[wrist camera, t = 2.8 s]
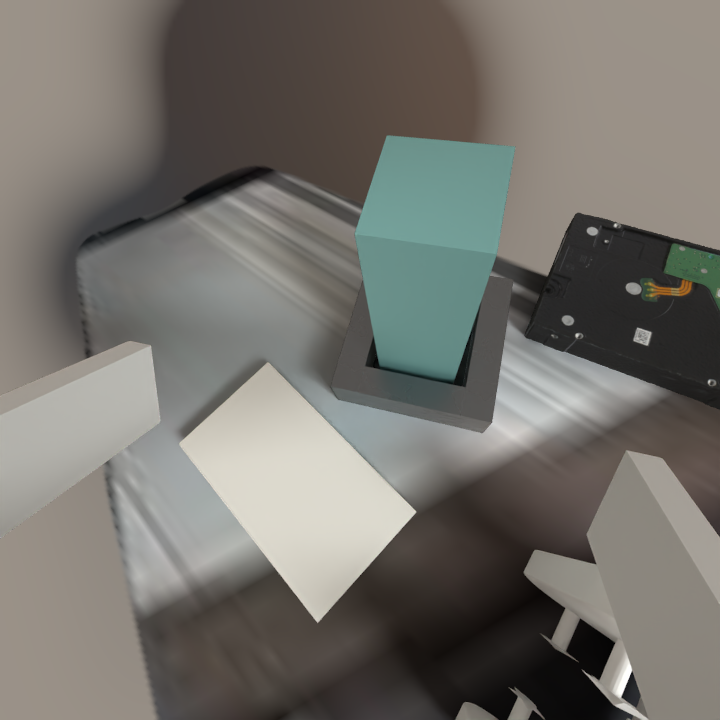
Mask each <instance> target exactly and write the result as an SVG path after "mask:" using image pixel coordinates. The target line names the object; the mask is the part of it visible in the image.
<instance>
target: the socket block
mask: <svg viewBox="0 0 720 720" xmlns="http://www.w3.org/2000/svg"><path fill="white" fill-rule="evenodd" d="M512 286H513V279H506V278H500V277H493V276H489V279H488V282H487V285H486V288H485V291H484V294H483V297H482V300H481V303H480V306H479V309H478V312H477V315H476V318H475V321H474V326H473V332H472V337H471V343H470V348H469V354H468V359H467V365H466V370H465V375H464V381H463V386H462V387H461V386H456V385H451V384H447V383H442V382H437V381H433V380H428V379H423V378H418V377H414V376H409V375H404V374H399V373H395V372H390V371H385V370H380V369H376V368H373V365H374V361H375V358H376V354H377V350H376V345H375V340H374V334H373V329H372V324H371V319H370V313H369V308H368V303H367V297H366V292H365V287H364V281H362V285H361V288H360V291H359V294H358V298H357V301H356V304H355V307H354V311H353V314H352V317H351V321H350V324H349V327H348V330H347V334H346V337H345V340H344V343H343V347H342V350H341V353H340V357H339V360H338V363H337V366H336V370H335V373H334V376H333V379H332V383H331V388H332V390H333V391H334V393H335V395H336V397H337V398H338V400H343V401H347V402H351V403H356V404H360V405H364V406H369V407H373V408H377V409H382V410H386V411H390V412H394V413H399V414H403V415H407V416H412V417H416V418H420V419H425V420H429V421H433V422H438V423H442V424H446V425H450V426H455V427H459V428H463V429H468V430H472V431H476V432H481V433H483V432H484V431H485V430H486V429H487V428H488V427H489V425H490V424H491V423H492V419H493V412H494V405H495V399H496V392H497V385H498V379H499V372H500V366H501V359H502V352H503V346H504V339H505V332H506V326H507V319H508V313H509V306H510V299H511V293H512Z"/></svg>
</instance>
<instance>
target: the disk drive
mask: <svg viewBox="0 0 720 720" xmlns="http://www.w3.org/2000/svg"><path fill="white" fill-rule="evenodd" d="M525 337H526V338H528V339H532V340H534V341H537V342H540V343H543V344H544V345H546V346H548V347H551V348H554V349H556V350H559V351H562V352H568V353H570V354H573V355H575V356H578V357H581V358H584V359H587V360H589V361H592V362H595V363H597V364H600V365H603V366H606V367H608V368H611V369H614V370H617V371H619V372H622V373H625V374H627V375H630V376H633V377H636V378H639V379H641V380H644V381H646V382H649V383H653V384H655V385H657V386H660V387H663V388H666V389H669V390H671V391H674V392H677V393H680V394H682V395H685V396H687V397H690V398H693V399H696V400H698V401H701V402H703V403H705V404H707V405H709V406H711V407H715V408H717V409H720V250H716V249H712V248H708V247H705V246H701V245H697V244H693V243H690V242H686V241H684V240H679V239H674V238H670V237H668V236H664V235H661V234H657V233H653V232H649V231H645V230H642V229H638V228H635V227H631V226H627V225H623V224H619V223H617V222H613V221H610V220H607V219H603V218H599V217H594V216H590V215H584V214H581V213H577V214H575V216H574V218H573V219H572V221H571V223H570V225H569V227H568V229H567V231H566V233H565V235H564V238H563V240H562V243H561V245H560V248H559V250H558V252H557V255H556V258H555V260H554V263H553V265H552V268H551V270H550V272H549V275H548V277H547V280H546V282H545V285H544V287H543V290H542V292H541V295H540V297H539V300H538V302H537V305H536V307H535V310H534V312H533V315H532V318H531V321H530V323H529V326H528V328H527V330H526V333H525Z"/></svg>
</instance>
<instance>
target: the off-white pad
mask: <svg viewBox="0 0 720 720" xmlns="http://www.w3.org/2000/svg"><path fill="white" fill-rule="evenodd" d="M179 445H180V446H181V448H182V449H183V450H184V451H185V453H186V454H187V455H188V457H189V458H190V459H191V460H192V462H193V463H194V464H195V466H196V467H197V468H198V469H199V471H200V472H201V473H202V475H203V476H204V477H205V479H206V480H207V481H208V482H209V484H210V485H211V486H212V488H213V489H214V490H215V491H216V493H217V494H218V495H219V497H220V498H221V499H222V500H223V502H224V503H225V504H226V506H227V507H228V508H229V509H230V511H231V512H232V513H233V515H234V516H235V517H236V518H237V520H238V521H239V522H240V524H241V525H242V526H243V527H244V529H245V530H246V531H247V533H248V534H249V535H250V536H251V538H252V539H253V540H254V542H255V543H256V544H257V545H258V547H259V548H260V549H261V551H262V552H263V553H264V554H265V556H266V557H267V558H268V560H269V561H270V562H271V563H272V565H273V566H274V567H275V569H276V570H277V571H278V572H279V574H280V575H281V576H282V578H283V579H284V580H285V582H286V583H287V584H288V585H289V587H290V588H291V589H292V591H293V592H294V593H295V594H296V596H297V597H298V598H299V600H300V601H301V602H302V603H303V605H304V606H305V607H306V609H307V610H308V611H309V612H310V614H311V615H312V616H313V618H314V619H315V620H316V621H317V623H318V622H319V621H320V620H321V619H322V617H323V616H324V615H325V614H326V613H327V612H328V611H329V610H330V608H331V607H332V606H333V605H334V604H335V603H336V602H337V601H338V599H339V598H340V597H341V596H342V595H343V594H344V593H345V592H346V590H347V589H348V588H349V587H350V586H351V585H352V584H353V583H354V581H355V580H356V579H357V578H358V577H359V576H360V575H361V574H362V572H363V571H364V570H365V569H366V568H367V567H368V566H369V565H370V563H371V562H372V561H373V560H374V559H375V558H376V557H377V556H378V555H379V553H380V552H381V551H382V550H383V549H384V548H385V547H386V546H387V544H388V543H389V542H390V541H391V540H392V539H393V538H394V537H395V535H396V534H397V533H398V532H399V531H400V530H401V529H402V528H403V526H404V525H405V524H406V523H407V522H408V521H409V520H410V519H411V517H412V516H413V515H414V514H415V513H416V511H415V510H414V509H413V508H412V507H411V506H410V505H409V504H408V503H407V502H406V501H405V500H404V499H403V498H402V497H401V496H400V495H399V494H398V493H397V492H396V491H395V490H394V489H393V488H392V487H391V486H390V485H389V484H388V483H387V482H386V481H385V480H384V479H383V478H382V477H381V476H380V475H379V473H378V472H377V471H376V470H375V469H374V468H373V467H372V466H371V465H370V464H369V463H368V462H367V461H366V460H365V459H364V458H363V457H362V456H361V455H360V454H359V453H358V452H357V451H356V450H355V449H354V448H353V447H352V446H351V445H350V444H349V443H348V442H347V441H346V440H345V439H344V438H343V437H342V436H341V435H340V434H339V433H338V432H337V431H336V430H335V429H334V428H333V427H332V426H331V425H330V424H329V423H328V422H327V421H326V420H325V419H324V418H323V417H322V416H321V415H320V414H319V413H318V412H317V411H316V410H315V409H314V408H313V407H312V406H311V405H310V404H309V403H308V402H307V401H306V400H305V399H304V398H303V397H302V396H301V395H300V394H299V393H298V392H297V391H296V390H295V389H294V388H293V387H292V386H291V385H290V384H289V383H288V382H287V381H286V380H285V379H284V378H283V376H282V375H281V374H280V373H279V372H278V371H277V370H276V369H275V368H274V367H273V366H272V365H271V364H270V363H269V362H267V363H266V364H265V365H264V366H263V367H262V368H261V369H260V370H259V371H258V372H257V373H255V374H254V375H253V376H252V377H251V378H250V379H249V380H248V381H247V382H246V383H245V384H243V385H242V386H241V387H240V388H239V389H238V390H237V391H236V392H235V393H234V394H232V395H231V396H230V397H229V398H228V399H227V400H226V401H225V402H224V403H223V404H222V405H220V406H219V407H218V408H217V409H216V410H215V411H214V412H213V413H212V414H211V415H210V416H208V417H207V418H206V419H205V420H204V421H203V422H202V423H201V424H200V425H199V426H198V427H196V428H195V429H194V430H193V431H192V432H191V433H190V434H189V435H188V436H187V437H186V438H184V439H183V440H182V441H181V442H180V443H179Z"/></svg>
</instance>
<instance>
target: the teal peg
mask: <svg viewBox="0 0 720 720" xmlns="http://www.w3.org/2000/svg"><path fill="white" fill-rule="evenodd" d="M514 152H515V147H514V146H503V145H492V144H479V143H469V142H457V141H446V140H435V139H434V140H433V139H423V138H412V137H400V136H389V135H388V136H387V137H386V140H385V143H384V146H383V149H382V152H381V155H380V159H379V162H378V164H377V167H376V171H375V174H374V176H373V179H372V182H371V186H370V189H369V192H368V195H367V198H366V201H365V204H364V207H363V210H362V213H361V216H360V219H359V222H358V225H357V228H356V231H355V239H356V244H357V250H358V255H359V260H360V266H361V271H362V276H363V281H364V287H365V292H366V297H367V303H368V308H369V313H370V319H371V324H372V329H373V334H374V340H375V345H376V350H377V356H378V361H379V366H380V370H385V371H390V372H395V373H399V374H404V375H409V376H414V377H418V378H423V379H428V380H433V381H437V382H442V383H447V384H451V385H453V383H454V380H455V377H456V374H457V371H458V368H459V365H460V362H461V359H462V356H463V353H464V350H465V347H466V344H467V341H468V338H469V335H470V332H471V329H472V326H473V323H474V320H475V318H476V315H477V312H478V309H479V306H480V303H481V300H482V297H483V294H484V291H485V288H486V285H487V282H488V279H489V276H490V273H491V270H492V267H493V264H494V261H495V258H496V255H497V250H498V245H499V239H500V233H501V227H502V221H503V216H504V210H505V204H506V198H507V193H508V186H509V181H510V175H511V169H512V163H513V158H514Z"/></svg>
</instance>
